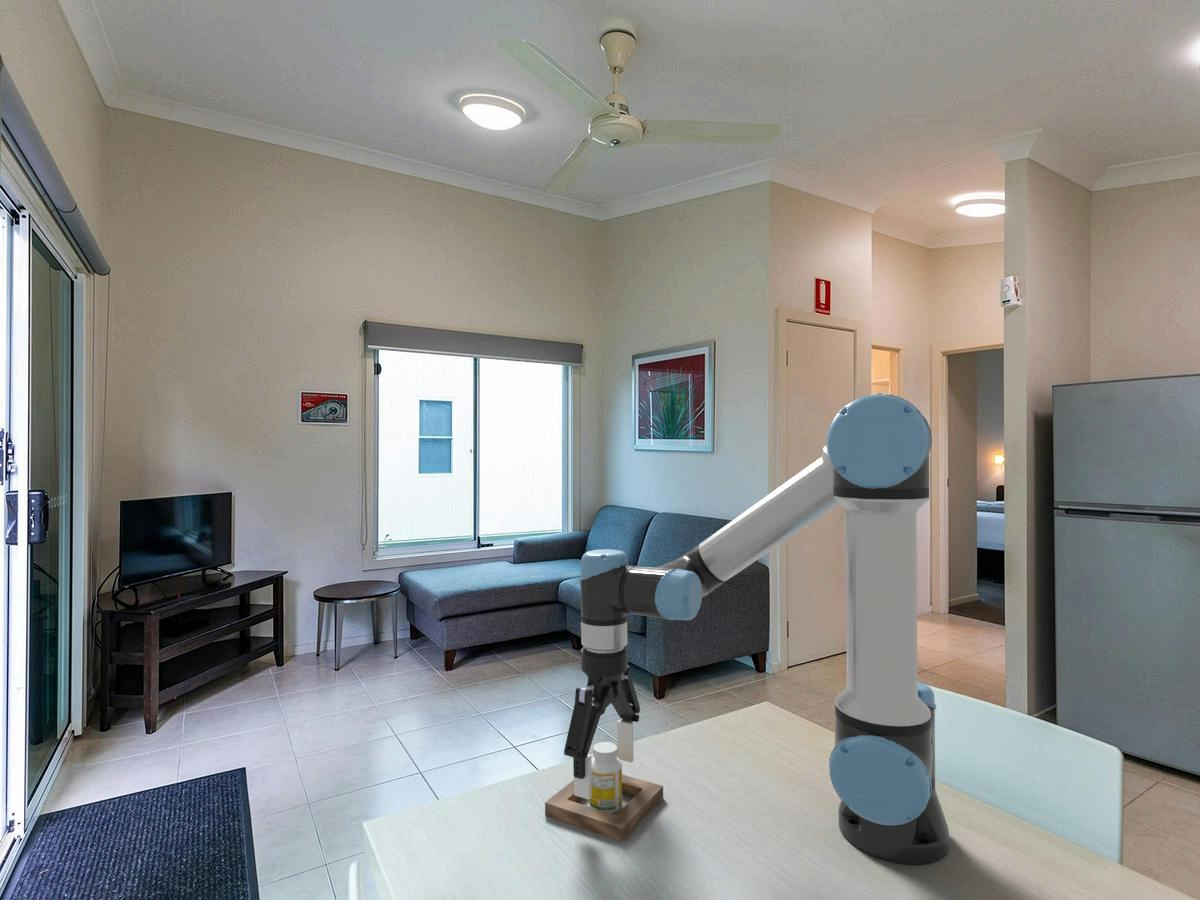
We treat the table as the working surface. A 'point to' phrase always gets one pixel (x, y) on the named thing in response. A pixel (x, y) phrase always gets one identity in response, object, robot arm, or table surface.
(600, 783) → the supplement bottle
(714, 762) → the table surface
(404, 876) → the table surface
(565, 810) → the holder frame
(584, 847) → the table surface
